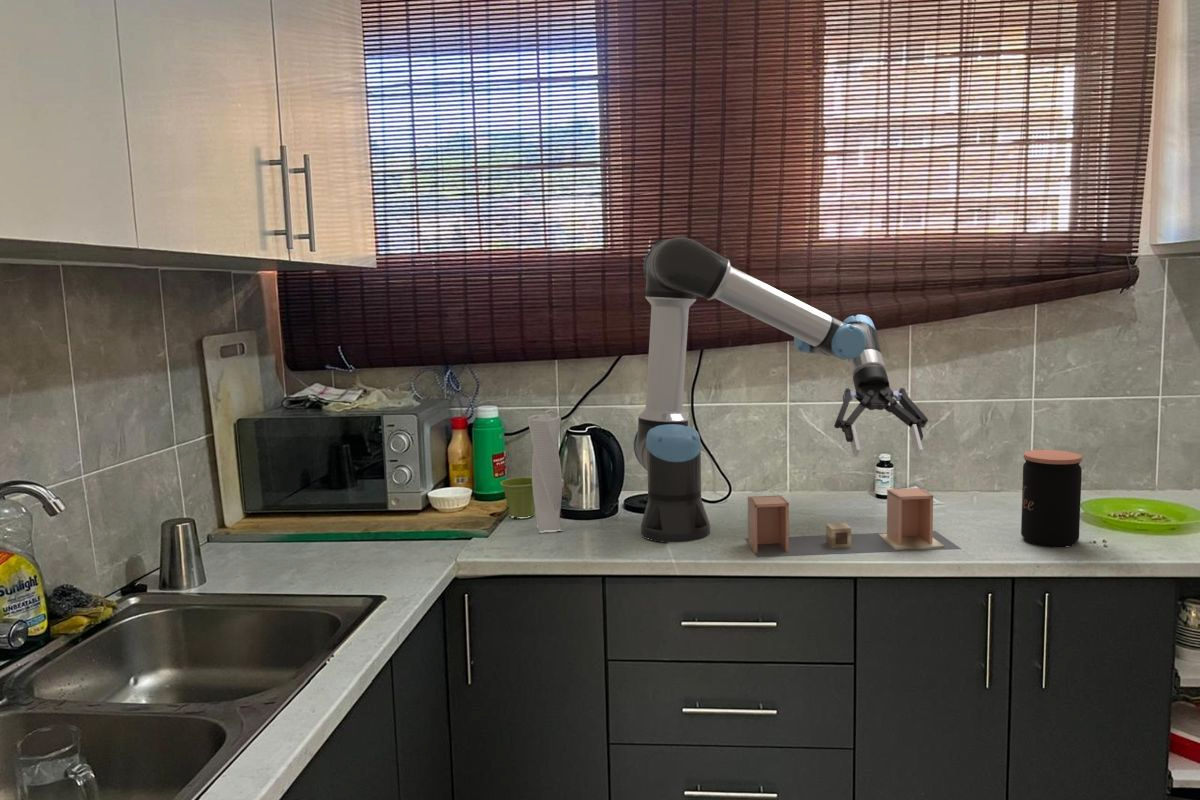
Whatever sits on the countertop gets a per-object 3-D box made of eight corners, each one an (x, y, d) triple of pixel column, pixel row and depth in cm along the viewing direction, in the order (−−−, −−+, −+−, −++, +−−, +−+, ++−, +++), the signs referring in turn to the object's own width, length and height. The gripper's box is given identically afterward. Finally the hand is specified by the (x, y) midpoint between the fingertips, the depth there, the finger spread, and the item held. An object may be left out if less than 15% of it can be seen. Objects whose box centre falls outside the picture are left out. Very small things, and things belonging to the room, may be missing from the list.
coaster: (895, 549, 178) (895, 547, 178) (878, 535, 188) (878, 534, 188) (944, 547, 178) (944, 545, 178) (924, 533, 188) (924, 532, 188)
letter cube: (831, 548, 180) (831, 529, 180) (826, 542, 184) (826, 523, 184) (851, 547, 180) (851, 528, 180) (845, 541, 184) (845, 523, 184)
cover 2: (898, 545, 180) (898, 496, 178) (886, 536, 186) (887, 489, 185) (932, 543, 180) (933, 495, 178) (919, 534, 186) (920, 488, 185)
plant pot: (509, 523, 208) (507, 487, 207) (497, 514, 217) (495, 480, 216) (546, 518, 212) (545, 482, 211) (533, 509, 221) (531, 475, 219)
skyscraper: (568, 533, 199) (563, 409, 195) (535, 536, 197) (530, 411, 193) (562, 524, 206) (557, 405, 203) (530, 527, 205) (525, 407, 201)
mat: (757, 559, 176) (757, 557, 176) (744, 540, 189) (744, 538, 189) (961, 550, 177) (961, 548, 177) (935, 532, 190) (935, 530, 190)
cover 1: (754, 552, 179) (753, 504, 177) (748, 543, 185) (747, 496, 184) (788, 551, 179) (788, 503, 178) (781, 542, 185) (781, 495, 184)
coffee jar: (1025, 531, 189) (1028, 448, 187) (1082, 538, 183) (1085, 452, 180) (1015, 543, 180) (1018, 457, 178) (1074, 551, 174) (1078, 461, 172)
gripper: (917, 383, 207) (939, 461, 195) (811, 384, 207) (827, 462, 194) (928, 363, 201) (951, 443, 189) (818, 364, 200) (835, 444, 188)
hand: (888, 453), depth 192 cm, fingers open, 13 cm apart
